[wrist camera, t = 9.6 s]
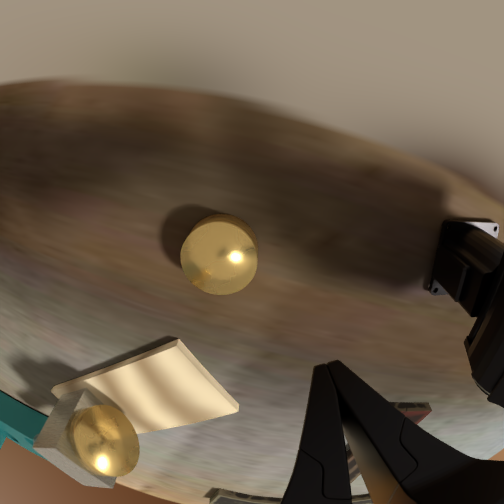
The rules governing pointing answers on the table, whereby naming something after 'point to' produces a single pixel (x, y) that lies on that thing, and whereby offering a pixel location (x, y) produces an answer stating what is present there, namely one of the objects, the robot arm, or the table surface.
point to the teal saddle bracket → (19, 423)
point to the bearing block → (68, 438)
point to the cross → (225, 500)
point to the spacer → (220, 254)
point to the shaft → (104, 441)
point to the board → (157, 389)
